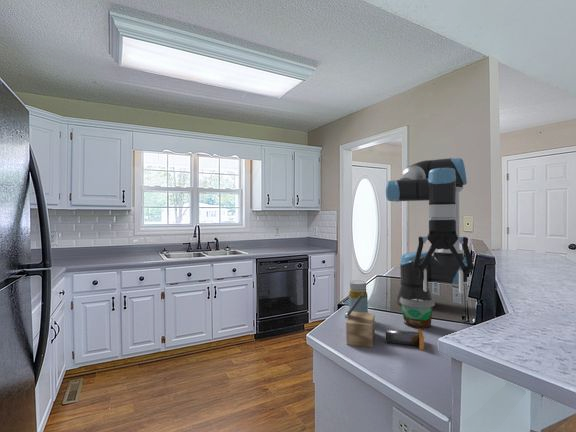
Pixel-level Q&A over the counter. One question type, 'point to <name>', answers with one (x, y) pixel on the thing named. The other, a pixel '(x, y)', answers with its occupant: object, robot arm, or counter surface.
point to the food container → (417, 312)
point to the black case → (405, 337)
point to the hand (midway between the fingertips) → (442, 291)
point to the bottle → (355, 292)
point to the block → (360, 329)
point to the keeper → (354, 305)
